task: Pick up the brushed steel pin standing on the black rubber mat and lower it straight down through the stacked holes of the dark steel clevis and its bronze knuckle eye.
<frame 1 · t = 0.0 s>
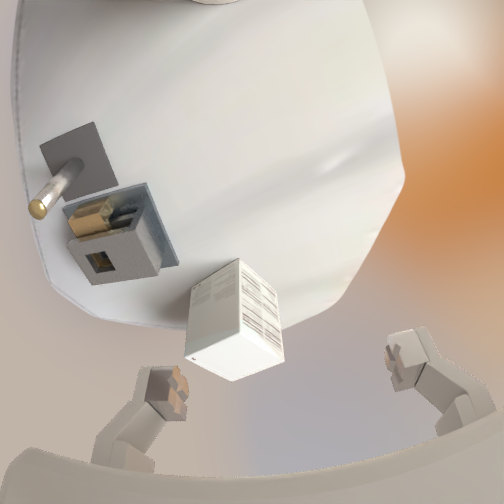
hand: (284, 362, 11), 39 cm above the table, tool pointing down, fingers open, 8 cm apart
clevis: (112, 236, 54), on the table
supplement box: (234, 288, 65), on the table
mat: (77, 164, 44), on the table
pin: (76, 165, 44), resting on mat
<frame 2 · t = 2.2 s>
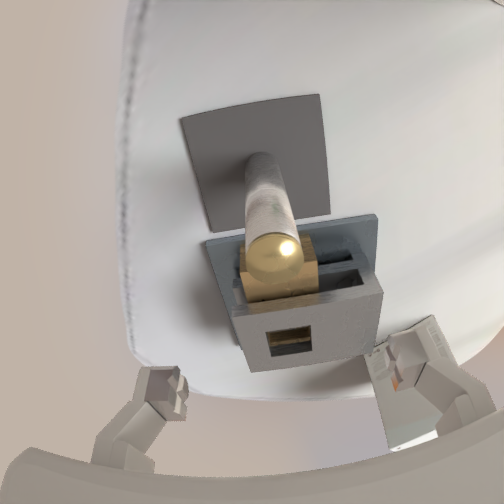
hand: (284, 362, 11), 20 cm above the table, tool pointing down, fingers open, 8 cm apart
clevis: (283, 292, 37), on the table
supplement box: (407, 349, 46), on the table
mat: (261, 165, 27), on the table
pin: (261, 167, 27), resting on mat
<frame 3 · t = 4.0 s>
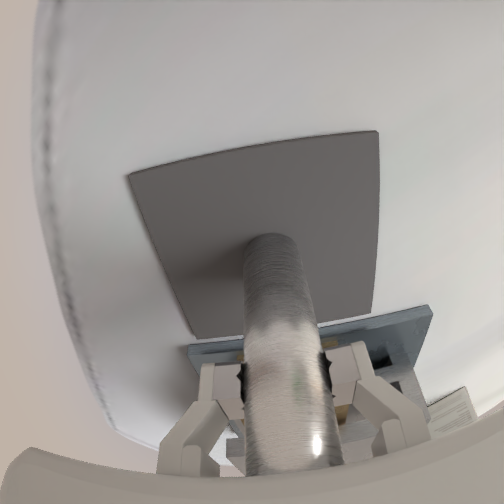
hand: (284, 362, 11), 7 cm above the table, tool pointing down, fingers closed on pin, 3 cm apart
clevis: (294, 392, 26), on the table
supplement box: (430, 416, 35), on the table
mat: (270, 252, 17), on the table
pin: (271, 256, 16), resting on mat, touching gripper
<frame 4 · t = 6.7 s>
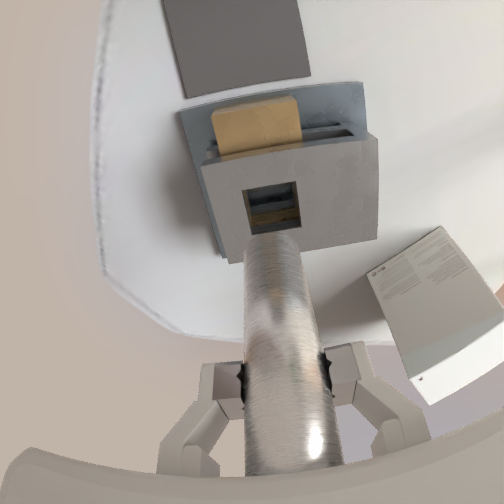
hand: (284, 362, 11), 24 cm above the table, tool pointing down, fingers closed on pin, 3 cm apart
clevis: (267, 175, 32), on the table
supplement box: (416, 274, 41), on the table
mat: (236, 28, 23), on the table
pin: (271, 255, 17), point 17 cm above the table, touching gripper
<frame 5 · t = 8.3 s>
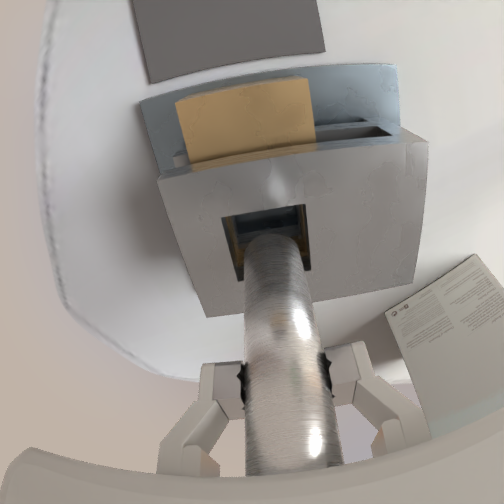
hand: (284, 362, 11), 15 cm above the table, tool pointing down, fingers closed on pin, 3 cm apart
clevis: (262, 191, 23), on the table
supplement box: (440, 310, 33), on the table
pin: (271, 256, 17), point 8 cm above the table, touching gripper
when the fingers open (9 cm above the table, at t = 9.7 s): pin drops 1 cm, resting on clevis.
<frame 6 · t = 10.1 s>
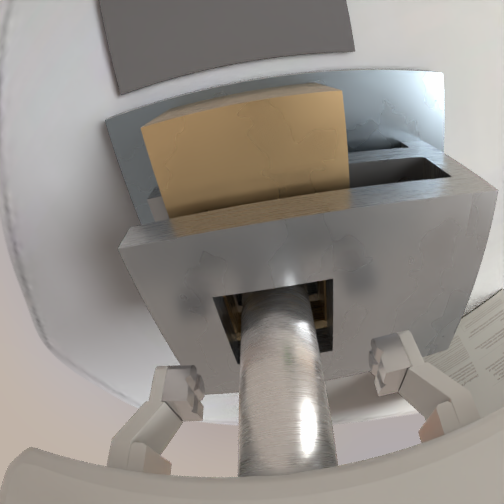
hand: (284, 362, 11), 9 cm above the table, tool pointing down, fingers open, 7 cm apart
clevis: (268, 232, 19), on the table
supplement box: (460, 346, 28), on the table
pin: (270, 242, 18), point 1 cm above the table, touching clevis
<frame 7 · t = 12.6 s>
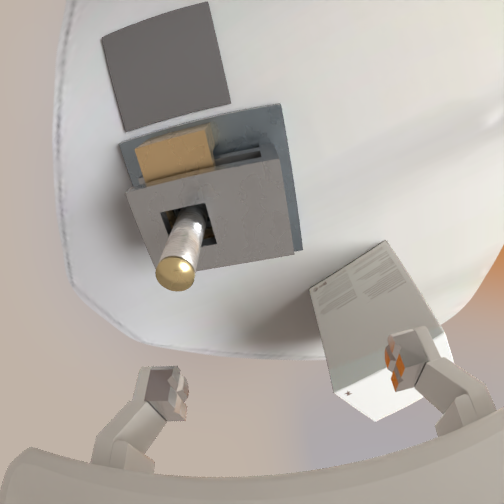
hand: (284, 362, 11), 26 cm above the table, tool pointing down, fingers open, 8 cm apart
clevis: (199, 197, 35), on the table
supplement box: (365, 290, 44), on the table
mat: (163, 65, 27), on the table
pin: (198, 201, 34), point 1 cm above the table, touching clevis
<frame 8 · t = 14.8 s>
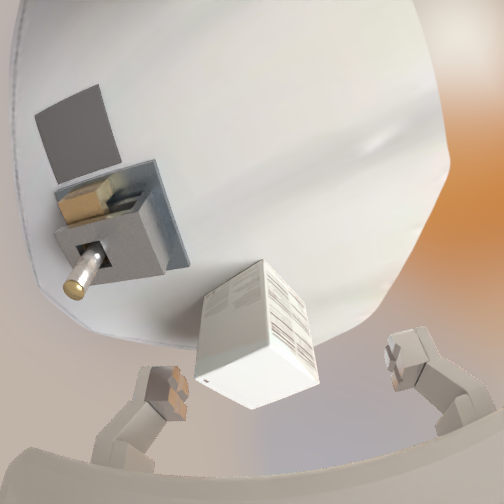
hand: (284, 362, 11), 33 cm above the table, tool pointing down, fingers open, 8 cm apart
clevis: (111, 228, 45), on the table
supplement box: (255, 298, 54), on the table
mat: (75, 136, 36), on the table
pin: (109, 232, 44), point 1 cm above the table, touching clevis
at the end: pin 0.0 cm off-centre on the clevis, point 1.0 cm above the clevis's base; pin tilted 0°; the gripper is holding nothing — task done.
